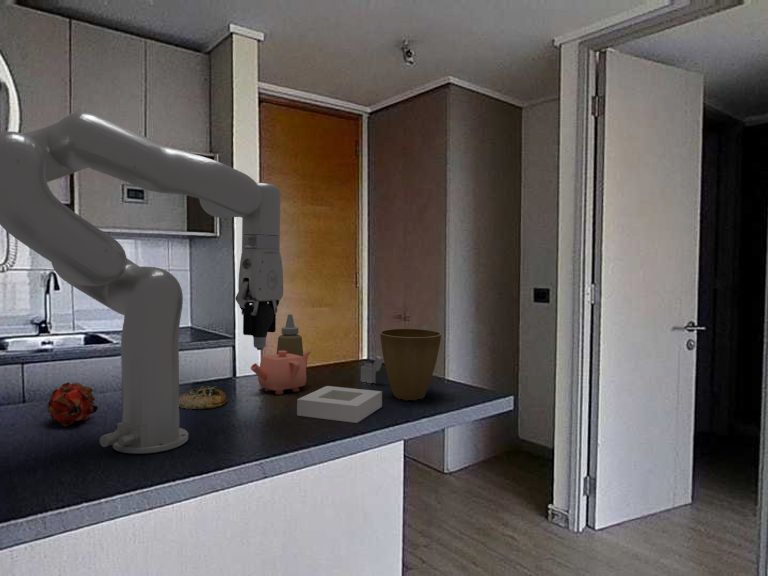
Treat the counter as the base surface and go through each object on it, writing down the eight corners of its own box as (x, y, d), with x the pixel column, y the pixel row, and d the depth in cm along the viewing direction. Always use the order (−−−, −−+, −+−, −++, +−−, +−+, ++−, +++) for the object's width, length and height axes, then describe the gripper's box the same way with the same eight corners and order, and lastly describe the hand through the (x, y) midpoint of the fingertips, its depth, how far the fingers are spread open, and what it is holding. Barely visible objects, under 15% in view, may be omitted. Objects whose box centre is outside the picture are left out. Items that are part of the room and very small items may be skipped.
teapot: (296, 398, 135) (296, 356, 135) (249, 395, 137) (249, 354, 137) (312, 385, 150) (312, 347, 149) (269, 383, 151) (269, 345, 151)
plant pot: (366, 396, 138) (367, 331, 137) (408, 387, 148) (409, 326, 147) (410, 408, 127) (411, 338, 126) (452, 398, 137) (454, 332, 137)
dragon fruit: (73, 420, 120) (79, 444, 110) (35, 402, 115) (37, 425, 106) (99, 387, 122) (107, 408, 112) (63, 368, 117) (68, 387, 107)
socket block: (357, 423, 115) (357, 406, 115) (297, 415, 120) (297, 399, 120) (381, 406, 129) (382, 391, 128) (326, 400, 134) (326, 385, 133)
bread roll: (217, 395, 137) (217, 375, 136) (234, 412, 128) (234, 391, 127) (170, 403, 131) (170, 383, 130) (184, 421, 122) (184, 399, 121)
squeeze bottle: (273, 377, 159) (273, 313, 158) (302, 375, 162) (302, 313, 161) (276, 383, 151) (277, 316, 151) (306, 381, 154) (307, 315, 153)
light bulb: (276, 348, 118) (277, 300, 118) (268, 352, 113) (269, 302, 112) (250, 347, 119) (251, 299, 118) (241, 351, 113) (242, 301, 113)
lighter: (360, 382, 154) (360, 353, 153) (364, 381, 155) (365, 352, 155) (379, 386, 149) (380, 356, 149) (384, 385, 150) (384, 355, 150)
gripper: (252, 243, 105) (250, 339, 106) (298, 246, 121) (296, 330, 122) (219, 242, 108) (217, 336, 109) (268, 246, 124) (267, 328, 125)
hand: (259, 332), depth 116 cm, fingers closed on light bulb, 5 cm apart
